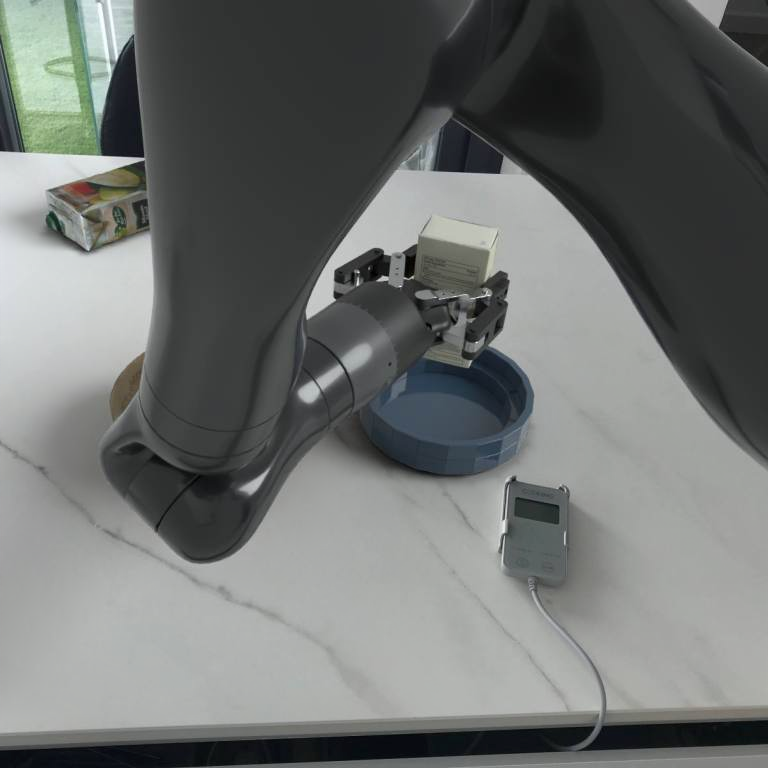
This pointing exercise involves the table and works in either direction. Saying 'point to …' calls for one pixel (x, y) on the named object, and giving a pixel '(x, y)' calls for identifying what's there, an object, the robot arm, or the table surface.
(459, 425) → the serving bowl
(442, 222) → the cosmetic box
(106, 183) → the juice carton
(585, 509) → the table surface
